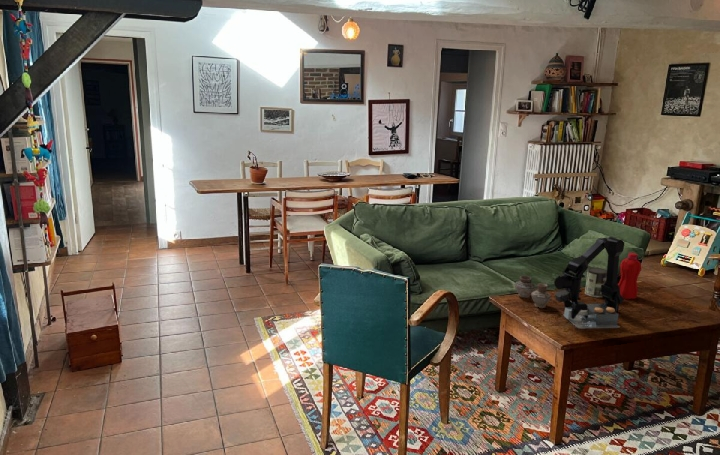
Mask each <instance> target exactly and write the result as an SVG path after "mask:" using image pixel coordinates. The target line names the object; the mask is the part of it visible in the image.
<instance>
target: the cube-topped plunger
mask: <svg viewBox="0 0 720 455" xmlns="http://www.w3.org/2000/svg"><path fill="white" fill-rule="evenodd" d="M588 312H589V310H588V309H587V310H581V311H580V312H579V313H578V314H577V316H578V315H587V316H588ZM563 314H564V316H565V317H566V318H567V319H572V309H571V308H570V307H568V308H565V307H564V313H563ZM564 316H563V317H564ZM565 317H564V318H565ZM566 318H565V319H566ZM567 319H566V320H567ZM574 319H576V317H575V318H574Z"/></svg>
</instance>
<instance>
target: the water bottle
mask: <svg viewBox="0 0 720 455" xmlns="http://www.w3.org/2000/svg"><path fill="white" fill-rule="evenodd" d="M619 267H620V272H619V274H620V279H619V281H618V283H617V284H618V286H619V288H620V295H621V296H622V297H623V299H625V300H633V299H636V298H637V296H638V278H639V276H640V273H641V271H642V263H641V262H640V260H638V254H637V253H636V252H628V254H627V257H626V258H624V259H623V260H622V261H621V262H620V266H619Z"/></svg>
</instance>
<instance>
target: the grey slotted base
mask: <svg viewBox="0 0 720 455" xmlns="http://www.w3.org/2000/svg"><path fill="white" fill-rule="evenodd" d="M586 304H587V306H588V308H587V309H588V310H589V312H588V316H587V315H578V316H576V319H567V318H566V317H565V316H564V313H562V314H561V315H562V317H564V318H565V319H566V320H567V321H569V322H570V323H571V324H572V325H573V326H574V325H575V326H574V327H575V328H577V329H578V330H585V329H586V330H587V329H588V330H589V329H618V328H620V327H621V326H620V325H618V322H619V321H618V320H619V316H620V315H619V314H618V313H616V312H613V313H608V311H606V308H607V307H608V306H606V305H605V304H604V303H586ZM595 308H602V309H603V312H602V313H598V314H597V313H596V311H594V310H595Z"/></svg>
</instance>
